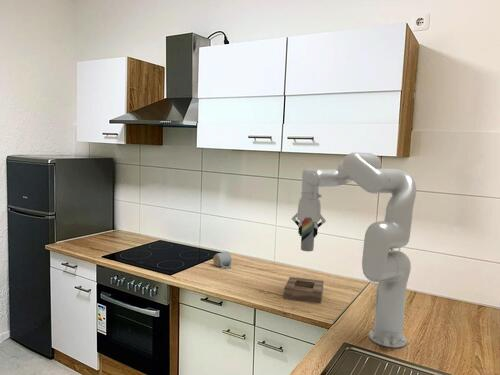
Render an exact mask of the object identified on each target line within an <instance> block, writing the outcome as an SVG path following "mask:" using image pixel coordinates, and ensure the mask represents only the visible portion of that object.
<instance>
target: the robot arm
mask: <svg viewBox="0 0 500 375" xmlns="http://www.w3.org/2000/svg"><path fill="white" fill-rule="evenodd" d="M381 162H382V161H381V159H380V157H378V155H376V154H375V153H372V152H371V153H370V152H356V151H354V152H351V153H348V154H346V155H345V157H344V158H343V159H342V161H340V162H339V164H338V166H337V168H333V169H332V168H303V170H302V172H301V173H302V175H301V192H300V193H301V194H300V195H301V197H300V198H299V199H298V200H299V201H298V206H297V212H296V213H295V215H293V216H292V218H291V221H293V223H295V225H296V226H297V227H298V232H297V233H298V235H299V237H301V234H302V222H303V221H304V218H306V217H307V218H312V222H314V225H315V228H314V238H317V237H316V236H318V233H319V232H318V230H319V228H320V227H321V226H322V225H324V223H326V222H327V221H326V219H325V218H324V217H323V215H322V214H321V213H322V212H321V211H322V210H321V200H320V199H321V198H322V194H320V192H319V188H323V187H330V188H331V187H339V186H342V185H346V184H349V183H350V182H352V181H354V183H356V184H357V185H358V186H359V187H360V188H362V189H363V190H364V191H365V192H367V193H370V194H373V195H374V194H376V195H377V194H391V197H390V198H389V200H388V202H387V204H386V208H385V215H384V220H381V221H375V222H373V223H371V224H370V225H369V226H368V227H367V229H366V230H365V233H364V238H363V239H364V240H363V250H362V259H361V266H362V268H361V269H362V273H363V275H364V277H365V278H366V279H367V280H368V281H370V282H373V283H377V286H376V294H375V309H374V324H373V329H370V330H369V332H368V338H369V339H370V340H371V341H372V342H373V343H375V344H377V345H380V346H382V347H386V348H393V349H394V348H395V349H396V348H403V347H405V346H406V345H407V343H408V340H407V337H406V336H405V335H404V334H403V331H404V321H405V320H404V319H405V308H406V307H405V305H406V295H407V294H406V293H407V285H408V281H409V278H410V274H411V268H412V264H411V260H410V258H409V256H408V255H407V254H406V253H405V252H403V251H400V250H394V249H400V248H403V247H406V246H407V245H408V244H409V242H410V238H411V231H412V220H413V213H414V212H413V211H414V204H415V201H416V194H417V185H416V182H415V180H414V178H413V176H412V175H410V174H409V173H408V172H407V171H404V170H402V169H398V168H381V167H382V163H381ZM320 220H321V221H320Z"/></svg>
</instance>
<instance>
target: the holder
mask: <svg viewBox="0 0 500 375" xmlns="http://www.w3.org/2000/svg"><path fill="white" fill-rule="evenodd" d="M324 284H325V283H324V280H319V279H311V278H305V277H295V276H289V277H288V280H287V281H286V283H285V287H284V289H283V290H284V291H283V292H284V293H283V299H284V300H289V301H290V300H291V301H297V302H298V301H299V302H304V303H312V304H313V303H314V304H321V303H322V299H323V293H324Z"/></svg>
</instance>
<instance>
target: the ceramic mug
mask: <svg viewBox="0 0 500 375" xmlns="http://www.w3.org/2000/svg"><path fill="white" fill-rule="evenodd" d="M212 261H213V265H214V266H216V267H218V268H219V267H221V268H222V269H225V270H226V269H227V268H229V269H231V267H232V255H231V254H230V252H229V251H226V250H225V251H222V252H219V253H215V254H214V255H213V257H212ZM227 270H228V269H227Z"/></svg>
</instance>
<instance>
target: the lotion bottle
mask: <svg viewBox="0 0 500 375" xmlns="http://www.w3.org/2000/svg"><path fill="white" fill-rule="evenodd" d="M314 228H315V225H314V222H312V218H307V217H306V218H304V221H303V222H302V234H301V236H300V238H301V239H300V240H301V241H300V250H301V251H303V252H313V251H314V249H315V248H314V247H315V243H314V242H315V237H314Z"/></svg>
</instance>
